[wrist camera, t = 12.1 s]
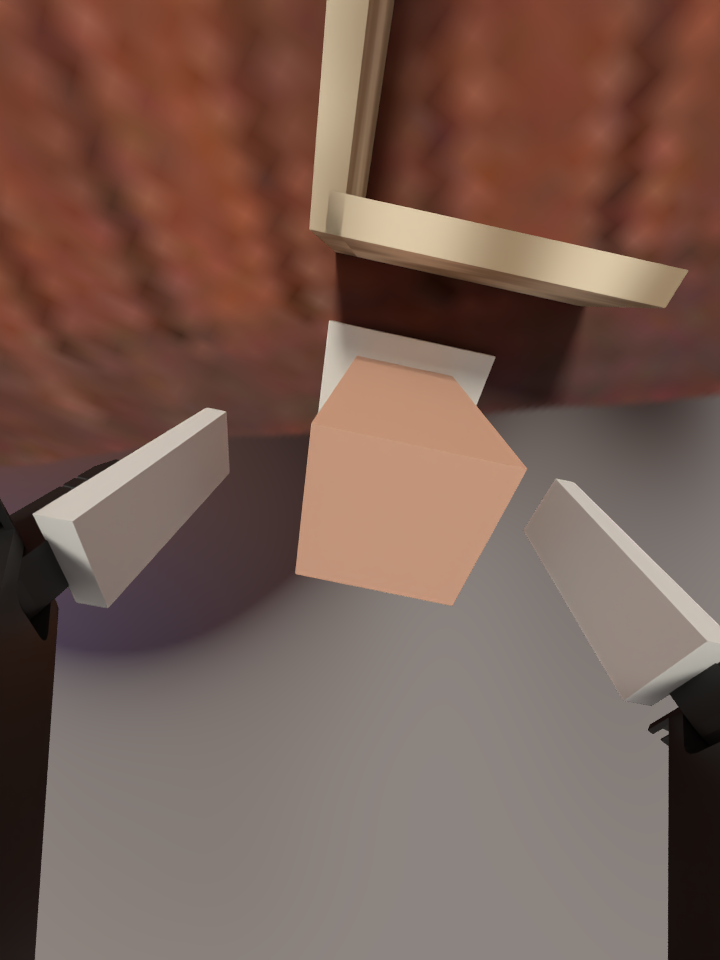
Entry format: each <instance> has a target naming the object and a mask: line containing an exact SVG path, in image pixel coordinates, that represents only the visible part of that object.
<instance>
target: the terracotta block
mask: <svg viewBox="0 0 720 960" xmlns="http://www.w3.org/2000/svg"><path fill="white" fill-rule="evenodd" d="M526 470H527V468H526V467H525V466H524V464H523V463H522V462H521V461H520V459H519V458H518V457H517V456H516V454H515V453H514V452H513V451H512V449H511V448H510V447H509V446H508V444H507V443H506V442H505V441H504V440H503V438H502V437H501V436H500V435H499V433H498V432H497V431H496V430H495V428H494V427H493V426H492V425H491V424H490V422H489V421H488V420H487V418H486V417H485V416H484V415H483V413H482V412H481V411H480V410H479V409H478V407H477V406H476V405H475V404H474V402H473V401H472V400H471V399H470V397H469V396H468V395H467V394H466V392H465V391H464V390H463V389H462V387H461V386H460V385H459V384H458V382H457V381H456V380H455V379H454V378H453V376H449V375H444V374H440V373H435V372H430V371H426V370H421V369H416V368H412V367H407V366H403V365H398V364H393V363H389V362H384V361H379V360H375V359H370V358H365V357H361V356H356V358H355V359H354V361H353V362H352V364H351V365H350V367H349V368H348V370H347V371H346V373H345V374H344V376H343V377H342V379H341V380H340V381H339V383H338V384H337V386H336V387H335V389H334V390H333V392H332V393H331V395H330V396H329V398H328V399H327V401H326V402H325V404H324V405H323V407H322V408H321V410H320V411H319V413H318V414H317V416H316V417H315V419H314V420H313V422H312V423H311V432H310V442H309V452H308V460H307V471H306V479H305V488H304V498H303V507H302V516H301V525H300V535H299V544H298V553H297V562H296V572H295V574H299V575H303V576H308V577H313V578H318V579H323V580H328V581H332V582H337V583H343V584H347V585H352V586H357V587H362V588H367V589H372V590H376V591H382V592H386V593H391V594H396V595H401V596H406V597H411V598H416V599H421V600H425V601H431V602H435V603H440V604H445V605H450V606H453V604H454V602H455V600H456V598H457V596H458V595H459V593H460V591H461V589H462V587H463V586H464V584H465V582H466V580H467V578H468V576H469V575H470V573H471V571H472V569H473V567H474V565H475V564H476V562H477V560H478V558H479V556H480V554H481V552H482V551H483V549H484V547H485V545H486V543H487V542H488V540H489V538H490V536H491V534H492V532H493V531H494V529H495V527H496V525H497V523H498V521H499V520H500V518H501V516H502V514H503V512H504V511H505V509H506V507H507V505H508V503H509V501H510V500H511V498H512V496H513V494H514V492H515V490H516V488H517V487H518V485H519V483H520V481H521V479H522V478H523V476H524V474H525V472H526Z"/></svg>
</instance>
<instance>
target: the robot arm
mask: <svg viewBox="0 0 720 960" xmlns="http://www.w3.org/2000/svg"><path fill="white" fill-rule="evenodd" d="M228 474H229V454H228V433H227V413H226V411H221V410H216V409H211V408H205V409H203V410H202V411H200V412H198V413H197V414H195V415H194V416H192V417H190V418H189V419H187V420H185V421H184V422H182V423H180V424H179V425H177V426H176V427H174V428H172V429H171V430H169V431H167V432H166V433H164V434H162V435H161V436H159V437H158V438H156V439H154V440H153V441H151V442H149V443H148V444H146V445H144V446H143V447H141V448H140V449H138V450H136V451H135V452H133V453H131V454H130V455H128V456H126V457H125V458H123V459H122V460H113V461H110V462H107V463H103V464H100V465H97V466H94V467H93V468H91V469H89V470H88V471H86V472H84V473H82V474H81V475H79V476H78V478H74V479H72V480H70V481H69V482H67V483H65V484H64V486H63V487H58V488H56V489H55V490H53V491H51V492H49V493H48V494H46V495H44V496H43V497H41V498H39V499H37V500H36V501H34V502H32V503H30V504H29V505H27V506H25V507H24V508H22V509H20V510H18V511H17V512H15V513H13V514H11V515H10V516H9V514H8V512H7V510H6V508H5V507H4V505H3V503H2V501H1V499H0V960H35V946H36V932H37V917H38V902H39V888H40V873H41V859H42V858H41V857H42V844H43V829H44V813H45V799H46V785H47V770H48V754H49V741H50V726H51V725H50V724H51V711H52V696H53V682H54V667H55V653H56V638H57V624H58V605H57V602H56V600H55V598H56V597H57V596H58V595H59V594H60V593H62V591H64V590H65V589H66V588H67V587H69V589H70V591H71V593H72V595H73V597H74V599H75V601H76V602H77V603H82V604H88V605H93V606H99V607H104V608H109V606H110V605H111V604H112V603H113V602H114V601H115V600H116V598H118V596H119V595H120V594H121V593H122V592H123V591H124V590H125V589H126V587H127V586H128V585H129V584H130V583H131V582H132V581H133V580H134V579H135V577H136V576H137V575H138V574H139V573H140V572H141V571H142V570H143V568H144V567H145V566H146V565H147V564H148V563H149V562H150V561H151V560H152V558H153V557H154V556H155V555H156V554H157V553H158V552H159V551H160V549H161V548H162V547H163V546H164V545H165V544H166V543H167V542H168V541H169V540H170V538H171V537H172V536H173V535H174V534H175V533H176V532H177V531H178V529H179V528H180V527H181V526H182V525H183V524H184V523H185V522H186V521H187V519H188V518H189V517H190V516H191V515H192V514H193V513H194V511H196V509H197V508H198V507H199V506H200V505H201V504H202V503H203V501H205V499H206V498H207V497H208V496H209V495H210V494H211V493H212V492H213V490H214V489H215V488H216V487H217V486H218V485H219V484H220V483H221V481H222V480H223V479H224V478H225V477H226V476H227V475H228ZM523 531H524V533H525V534H526V536H527V538H528V540H529V541H530V543H531V545H532V546H533V548H534V550H535V551H536V553H537V555H538V557H539V558H540V560H541V562H542V563H543V565H544V567H545V568H546V570H547V572H548V574H549V575H550V577H551V578H552V580H553V582H554V584H555V586H556V587H557V589H558V590H559V592H560V594H561V596H562V597H563V599H564V601H565V603H566V604H567V606H568V608H569V609H570V611H571V613H572V614H573V616H574V618H575V619H576V621H577V623H578V625H579V626H580V628H581V629H582V631H583V633H584V635H585V637H586V638H587V640H588V642H589V643H590V645H591V647H592V648H593V650H594V652H595V654H596V655H597V657H598V659H599V660H600V662H601V664H602V665H603V667H604V669H605V671H606V672H607V674H608V676H609V677H610V679H611V681H612V683H613V684H614V686H615V688H616V689H617V691H618V693H619V694H620V696H621V698H622V699H623V701H627V702H633V703H639V704H643V705H649V706H652V705H654V704H655V703H657V702H659V701H660V700H662V699H663V698H665V697H666V696H668V695H669V694H670V695H671V696H672V698H673V700H674V701H675V702H676V704H677V705H678V706H679V707H678V708H677V709H675V710H673V711H672V712H670V713H669V714H667V715H665V716H663V717H662V718H660V719H659V720H657V721H655V722H653V723H652V724H650V726H649V728H648V731H650V732H651V733H652V734H654V733H656V732H657V731H659V730H661V729H665V730H667V731H669V735H667V736H665V737H664V738H662V739H661V740H662V741H663V742H664V743H665V744H667V745H668V746H669V828H668V829H669V831H668V834H669V835H668V836H669V838H668V840H669V841H668V842H669V843H668V845H669V847H668V855H669V856H668V865H669V866H668V960H720V626H719V625H718V624H717V623H716V622H715V621H714V620H713V619H712V618H711V617H710V616H709V615H708V614H707V613H706V612H705V611H704V610H703V609H702V608H701V607H700V606H699V605H698V604H697V603H696V602H695V601H694V600H693V599H692V598H691V597H690V596H689V595H688V594H687V593H686V592H685V591H684V590H683V589H682V588H681V587H680V586H679V585H678V584H676V582H675V581H674V580H672V578H671V577H670V576H669V575H668V574H667V573H666V572H664V571H663V570H662V569H661V568H660V567H659V566H658V565H657V564H656V563H655V562H654V561H653V560H652V559H651V558H650V557H649V556H648V555H647V554H646V553H645V552H644V551H643V550H642V549H641V548H640V547H639V546H638V545H637V544H636V543H635V542H634V541H633V540H632V539H631V538H630V537H629V536H628V535H627V534H626V533H625V532H624V531H623V530H622V529H621V528H620V527H619V526H618V525H617V524H616V523H615V522H614V521H613V520H612V519H611V518H610V517H609V516H608V515H607V514H606V513H605V512H604V511H602V509H600V508H599V507H598V506H597V505H596V504H595V503H594V502H593V501H592V500H591V499H590V498H589V497H588V496H587V495H586V494H585V493H584V492H583V491H582V490H581V489H580V488H579V487H578V486H577V485H576V484H575V483H574V482H570V481H565V480H560V479H555V480H554V482H553V483H552V485H551V486H550V488H549V490H548V491H547V493H546V495H545V496H544V498H543V499H542V501H541V503H540V504H539V506H538V507H537V509H536V511H535V512H534V514H533V515H532V517H531V519H530V520H529V522H528V523H527V525H526V527H525V528H524V530H523Z"/></svg>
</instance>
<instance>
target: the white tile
mask: <svg viewBox="0 0 720 960" xmlns="http://www.w3.org/2000/svg"><path fill="white" fill-rule="evenodd" d="M356 356H361V357H365V358H370V359H375V360H379V361H384V362H389V363H393V364H398V365H403V366H407V367H412V368H416V369H421V370H426V371H430V372H435V373H440V374H444V375H449V376H453V378H454V379H455V380H456V381H457V382H458V384H459V385H460V386H461V387H462V389H463V390H464V391H465V392H466V394H467V395H468V396H469V397H470V399H471V400H472V401H473V402H474V404H475V405H477V403H478V400H479V398H480V395H481V393H482V390H483V388H484V385H485V383H486V380H487V377H488V375H489V372H490V370H491V367H492V365H493V362H494V360H495V356H493V355H489V354H484V353H480V352H475V351H470V350H466V349H461V348H457V347H452V346H447V345H443V344H438V343H434V342H429V341H424V340H420V339H415V338H411V337H406V336H401V335H397V334H392V333H388V332H383V331H378V330H374V329H369V328H365V327H360V326H355V325H351V324H346V323H342V322H337V321H332V320H330V321H329V326H328V335H327V343H326V352H325V360H324V369H323V377H322V386H321V394H320V402H319V411H320V410H321V408H322V407H323V405H324V404H325V402H326V401H327V399H328V398H329V396H330V395H331V393H332V392H333V390H334V389H335V387H336V386H337V384H338V383H339V381H340V380H341V379H342V377H343V376H344V374H345V373H346V371H347V370H348V368H349V367H350V365H351V364H352V362H353V361H354V359H355V358H356ZM319 411H318V413H319Z"/></svg>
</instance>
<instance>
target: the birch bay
mask: <svg viewBox="0 0 720 960" xmlns="http://www.w3.org/2000/svg"><path fill="white" fill-rule="evenodd" d="M394 1H395V0H327V5H326V18H325V31H324V45H323V58H322V71H321V84H320V97H319V110H318V123H317V136H316V149H315V162H314V175H313V188H312V201H311V214H310V227H309V229H310V230H311V231H312V232H313V233H314V234H315V235H316V236H318V237H319V238H320V239H321V240H322V241H323V242H324V243H326V244H327V245H328V246H329V247H330V248H331V249H332V250H334V251H335V252H337V253H342V254H346V255H351V256H355V257H360V258H364V259H369V260H374V261H378V262H383V263H387V264H392V265H396V266H401V267H405V268H410V269H414V270H419V271H423V272H428V273H432V274H437V275H441V276H446V277H451V278H455V279H460V280H464V281H469V282H473V283H478V284H482V285H487V286H491V287H496V288H500V289H505V290H509V291H514V292H518V293H523V294H528V295H532V296H537V297H541V298H546V299H550V300H555V301H559V302H564V303H568V304H573V305H577V306H593V307H639V308H665V307H666V306H667V304H668V303H669V301H670V299H671V298H672V296H673V294H674V293H675V291H676V290H677V288H678V286H679V285H680V283H681V282H682V280H683V278H684V277H685V275H686V274H687V272H688V270H685V269H680V268H676V267H671V266H667V265H662V264H658V263H653V262H649V261H644V260H640V259H635V258H631V257H627V256H622V255H618V254H613V253H609V252H604V251H600V250H595V249H591V248H586V247H582V246H577V245H573V244H568V243H564V242H559V241H555V240H551V239H546V238H542V237H537V236H533V235H528V234H524V233H519V232H515V231H510V230H506V229H501V228H497V227H492V226H488V225H484V224H479V223H475V222H470V221H466V220H461V219H457V218H452V217H448V216H443V215H439V214H434V213H430V212H425V211H421V210H416V209H412V208H408V207H403V206H399V205H394V204H390V203H385V202H381V201H376V200H372V199H367V198H366V192H367V185H368V179H369V172H370V165H371V158H372V151H373V144H374V138H375V131H376V124H377V117H378V110H379V103H380V97H381V90H382V83H383V76H384V69H385V62H386V56H387V49H388V42H389V35H390V28H391V21H392V15H393V8H394Z"/></svg>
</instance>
